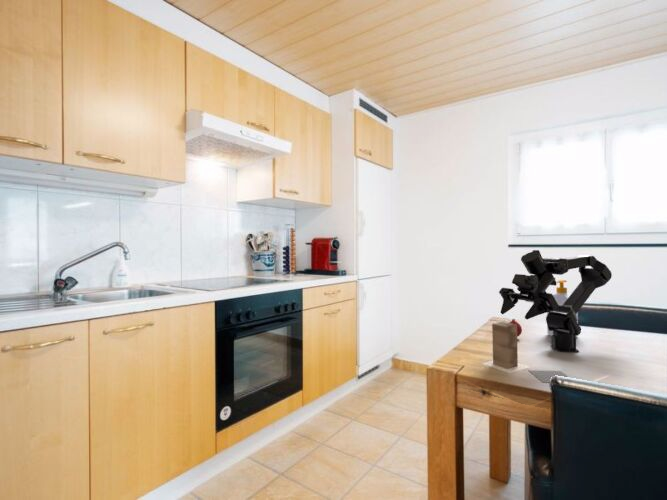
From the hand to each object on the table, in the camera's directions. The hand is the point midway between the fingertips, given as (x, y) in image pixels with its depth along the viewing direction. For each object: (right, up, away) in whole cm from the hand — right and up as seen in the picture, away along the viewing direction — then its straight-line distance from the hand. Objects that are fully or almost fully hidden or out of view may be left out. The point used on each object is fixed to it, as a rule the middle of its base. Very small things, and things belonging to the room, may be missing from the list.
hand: (513, 315), depth 114 cm
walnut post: (-5, -15, -5) cm, 16 cm away
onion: (+14, -14, +25) cm, 32 cm away
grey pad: (+3, -15, -16) cm, 22 cm away
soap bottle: (+35, -14, +28) cm, 47 cm away
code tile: (-5, -15, -5) cm, 17 cm away
